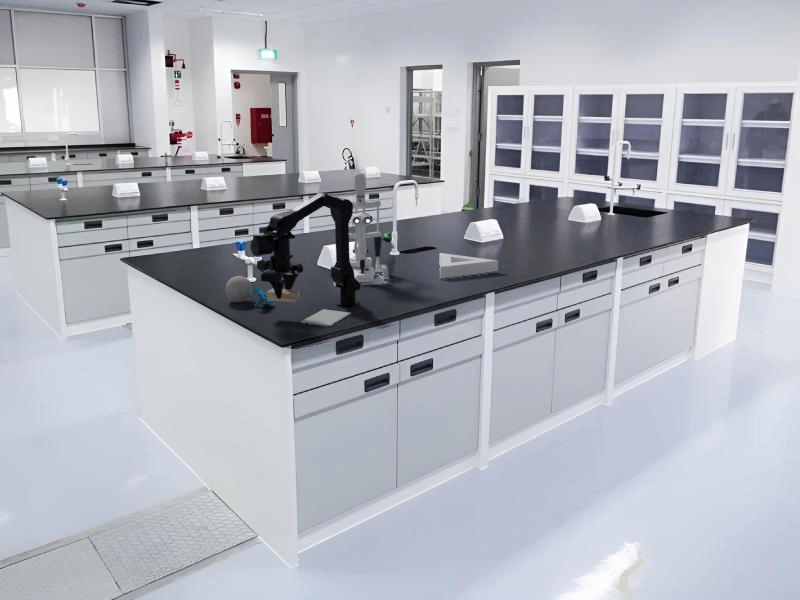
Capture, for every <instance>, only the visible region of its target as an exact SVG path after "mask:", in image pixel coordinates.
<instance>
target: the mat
mask: <svg viewBox="0 0 800 600" xmlns="http://www.w3.org/2000/svg"><path fill="white" fill-rule="evenodd" d="M349 314H351V315H352V312H346V311H340V310H332V309H325V308H323V309H321V310H319V311H318V312H316V313H314V314H312V315H311V316H308V317H306V318H305V319H302V320H301V323H302V324H306V323H308V324H307V325H313V324H314V325H313V326H323V327H328V326H329V328H330V326H331V327H332V326H334V325H336V324H337V323H339V322H341V321H342V320H344V319H345V317H346V316H347V317H349V316H350V315H349ZM348 315H349V316H348ZM347 317H346V318H347ZM343 318H344V319H343ZM340 320H341V321H340ZM338 321H339V322H338ZM335 323H336V324H335Z"/></svg>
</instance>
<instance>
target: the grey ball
mask: <svg viewBox="0 0 800 600" xmlns="http://www.w3.org/2000/svg"><path fill="white" fill-rule="evenodd" d="M253 293H254V286H253V283H252V281H250V279H249V278H247V277H245V276H243V275H236V276H233V277H231V278H230V279H229V280H227V282H226V284H225V294H226V296H227V298H228V299H229V300H230V301H233V302H234V303H244V302H246V301H248V300H249V299H250V298H251V297H252V295H253Z"/></svg>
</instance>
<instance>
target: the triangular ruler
mask: <svg viewBox="0 0 800 600" xmlns="http://www.w3.org/2000/svg"><path fill="white" fill-rule="evenodd" d="M438 259H439V263H438V265H440V268H439V279H440V278H445V277H453V276H462V275H470V274H478V273H485V272H492V271H498V270H499V260H498V259H489V258H482V257H473V256H467V255H466V256H465V255H460V254H458V255H457V254H450V253H444V252H440V253H439V257H438ZM498 272H499V271H498Z"/></svg>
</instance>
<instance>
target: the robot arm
mask: <svg viewBox="0 0 800 600" xmlns="http://www.w3.org/2000/svg"><path fill="white" fill-rule="evenodd" d="M352 202H353V201H351V200H350V199H347V198H344V197H343V198H342V197H334V196H332V195H330V194H328V193H323V192H318V193H316V194H315V195H314V196H312V197H311V198H309V199H308V200H306V201H304V202H303V203H301V204H299V205H297V206H296V207H294V208H292V209H290V210H287V211H283V212H279V213H276V214H274V215H272V216H271V217H270V218H269V223H268V225H267V227H266V228H265V230H264V231H263V234H254V235H253V236H252V239H251V241H250V245H249V246H250V251H251V254H252V255H253V257H254V256H255V257H257V256H267V255H270V257H269V259H268V260H264V259H260V260H257V261H256V269H257V270H259V272H260V273H261V274H260V282H267V283H269V284H270V285H271V287H272V289H274V291H275V294H276V296H277V298H278V299H280V298H281V295H282V291H283V289H287V290H293V287H294V284H295V282H296V280H297V279H298V277H299V275H300V274H301V273H303V272H304V266H303V264H302V263H297V262H291V259H292V258H293V257H294V255H293V254H291V241H290V240H291V239H296V236H295V235H294V233H292V230H293V229H295V228H296V226H297V224H298V223H299V222H300V221H302V220H303V219H305V218H306V217H308V216H310V215H311V214H313V213H314V212H316V211H318V210H320V209H321V208H323V207H325V208H327V209H329V211H330V215H331V217H332V219H333V222H334V227H335V228H334V233H335V263H334V265H333V266H334V267H333V266H330V278H331V279H332V282H333V283H334V282H335V284H336V287H335V288H339V289H340V291H339V293H340V295H339V296H340V300H339V301H340V302H338V303H337V304H336V306H339V307H346V306H348V307H347V308H354V307H355V306H357V305H359V304H360V301H357V298H356V297H357V293H356V292H357V291H359V290H360V289H361V287H362V286H361V284H360V283H359V282H358V281H357V280H356V279H355V276H354V270H353V268H352V266H351V264H350V258H351V257H350V238H349V233H350V229H349V227H350V226H349V225H350V224H349V223H350V221H351V220H352V218H353V214H354V213H353V212H354V211H353V210H354V209H353V204H352ZM296 272H297V273H296ZM358 303H359V304H358ZM356 304H357V305H356ZM353 306H354V307H353Z"/></svg>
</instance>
